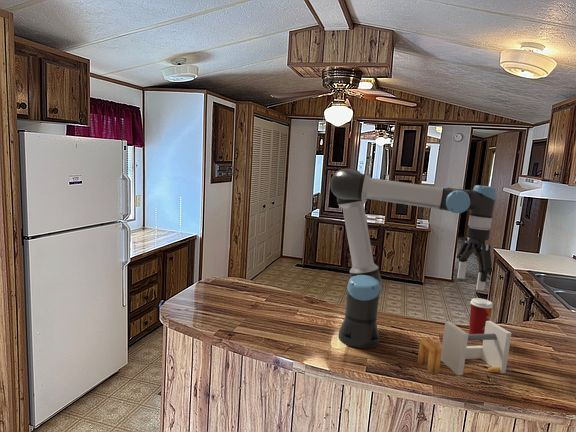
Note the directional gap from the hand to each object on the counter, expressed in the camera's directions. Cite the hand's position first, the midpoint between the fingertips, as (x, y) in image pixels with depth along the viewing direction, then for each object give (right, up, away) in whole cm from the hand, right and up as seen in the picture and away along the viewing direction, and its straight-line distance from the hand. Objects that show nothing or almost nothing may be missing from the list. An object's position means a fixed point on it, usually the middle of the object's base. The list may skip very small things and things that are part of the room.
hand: (470, 283), depth 148 cm
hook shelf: (-5, -26, -13) cm, 29 cm away
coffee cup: (+8, -24, +12) cm, 28 cm away
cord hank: (-22, -25, -16) cm, 37 cm away
